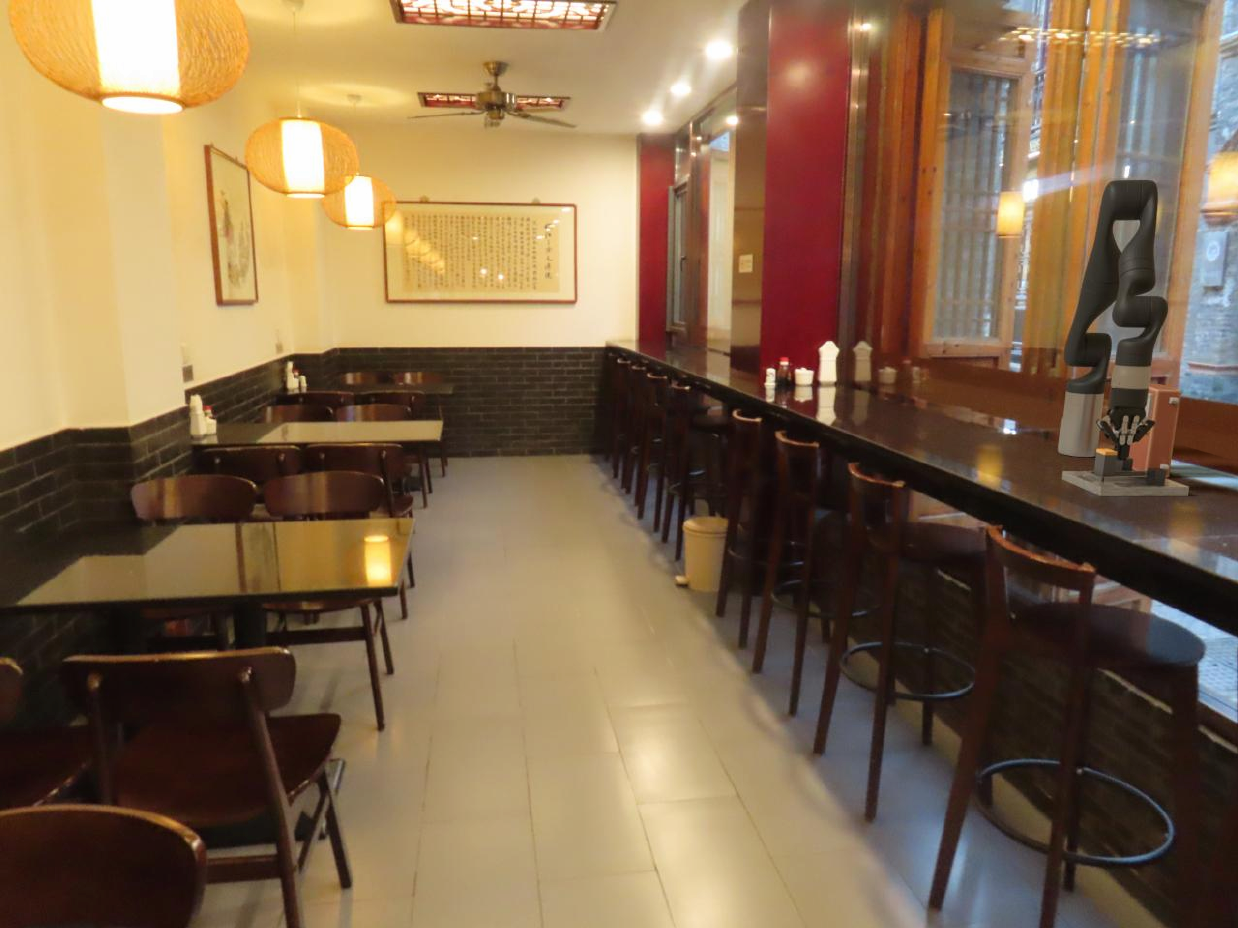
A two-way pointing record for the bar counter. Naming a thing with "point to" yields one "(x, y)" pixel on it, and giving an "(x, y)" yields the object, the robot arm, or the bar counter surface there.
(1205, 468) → the bar counter surface
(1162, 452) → the orange rectangular box
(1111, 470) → the block
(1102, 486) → the breaker board
